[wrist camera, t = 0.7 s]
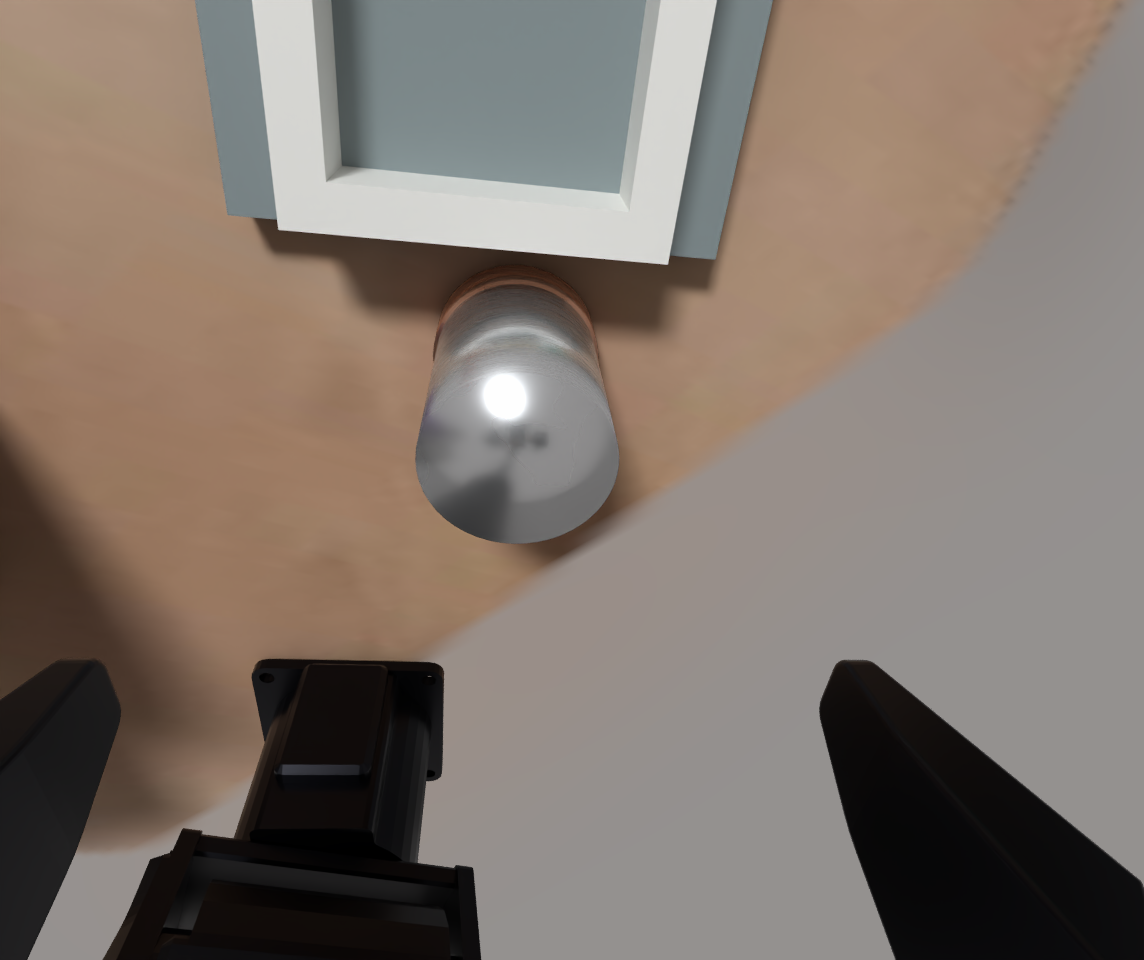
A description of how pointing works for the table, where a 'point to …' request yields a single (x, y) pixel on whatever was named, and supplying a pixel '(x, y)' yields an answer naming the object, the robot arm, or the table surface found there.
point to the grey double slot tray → (486, 119)
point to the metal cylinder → (516, 410)
